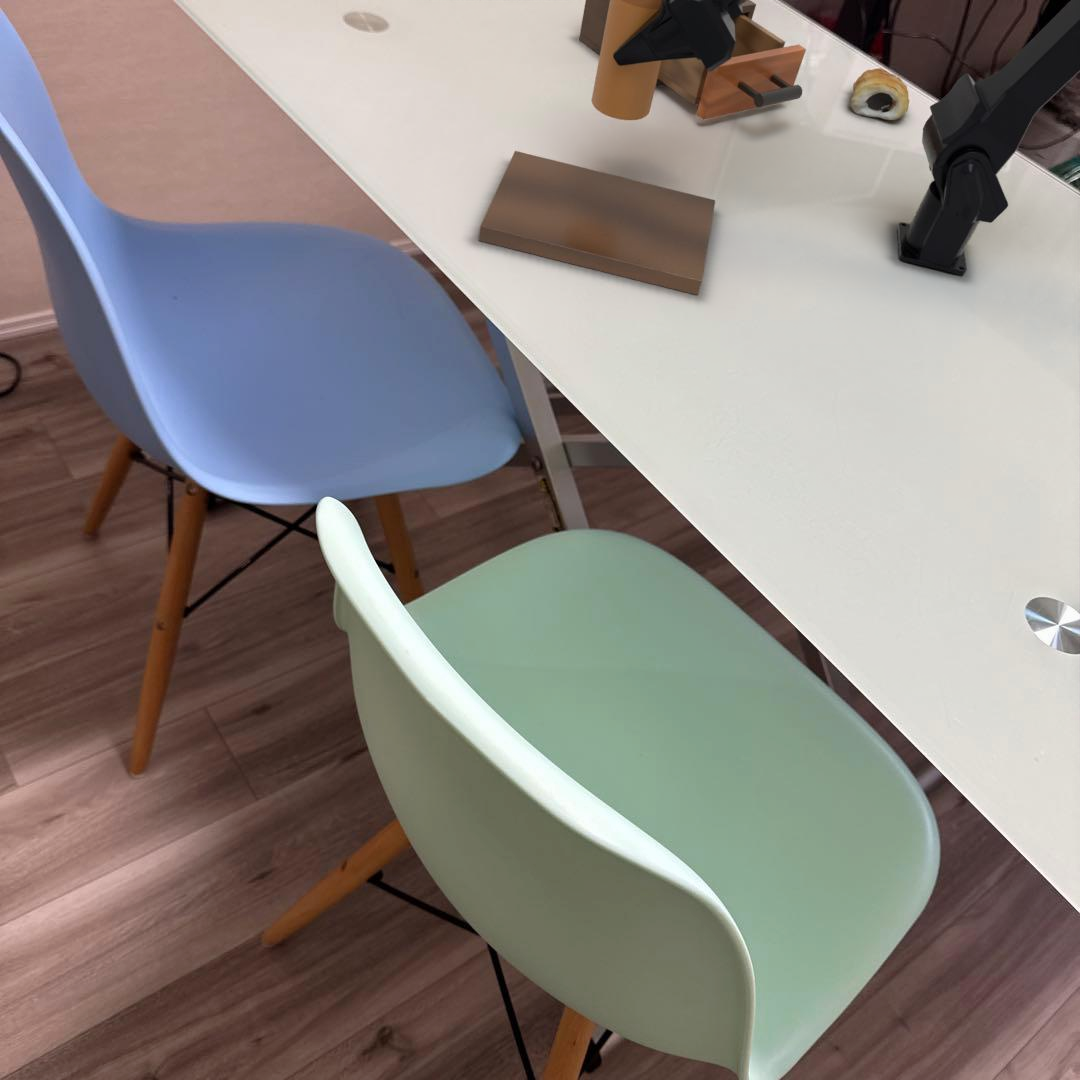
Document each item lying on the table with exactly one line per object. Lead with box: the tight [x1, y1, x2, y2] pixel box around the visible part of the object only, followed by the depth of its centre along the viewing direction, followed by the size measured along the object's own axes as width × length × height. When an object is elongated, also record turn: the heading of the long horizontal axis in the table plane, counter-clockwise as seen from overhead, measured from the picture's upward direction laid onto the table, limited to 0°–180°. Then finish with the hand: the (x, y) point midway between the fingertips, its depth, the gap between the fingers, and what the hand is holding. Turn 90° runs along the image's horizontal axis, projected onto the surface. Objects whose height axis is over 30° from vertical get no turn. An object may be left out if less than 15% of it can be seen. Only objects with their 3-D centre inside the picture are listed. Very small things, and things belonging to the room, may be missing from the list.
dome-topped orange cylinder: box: [591, 0, 662, 121], centre depth 85 cm, size 5×5×12 cm
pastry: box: [850, 68, 910, 121], centre depth 116 cm, size 9×7×4 cm
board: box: [478, 150, 716, 296], centre depth 91 cm, size 14×20×2 cm
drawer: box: [658, 14, 807, 121], centre depth 109 cm, size 16×13×6 cm
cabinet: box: [578, 0, 757, 88], centre depth 114 cm, size 13×15×8 cm
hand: (617, 45), depth 85 cm, fingers closed on dome-topped orange cylinder, 5 cm apart
